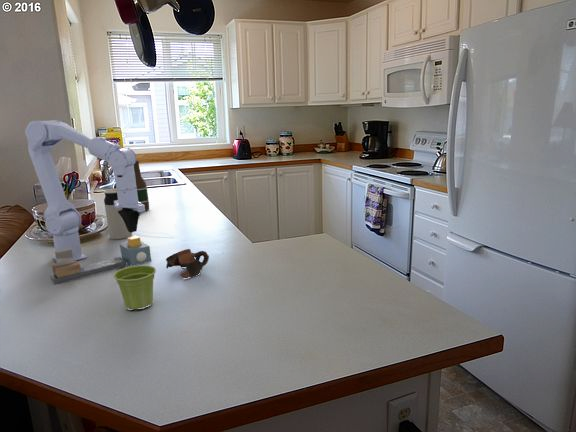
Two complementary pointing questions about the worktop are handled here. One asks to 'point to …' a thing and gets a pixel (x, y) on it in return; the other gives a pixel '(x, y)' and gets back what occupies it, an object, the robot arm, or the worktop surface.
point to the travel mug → (114, 216)
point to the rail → (91, 270)
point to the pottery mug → (188, 262)
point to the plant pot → (136, 285)
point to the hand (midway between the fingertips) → (132, 231)
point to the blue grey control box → (135, 253)
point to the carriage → (65, 263)
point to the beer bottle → (141, 187)
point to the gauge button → (133, 241)
